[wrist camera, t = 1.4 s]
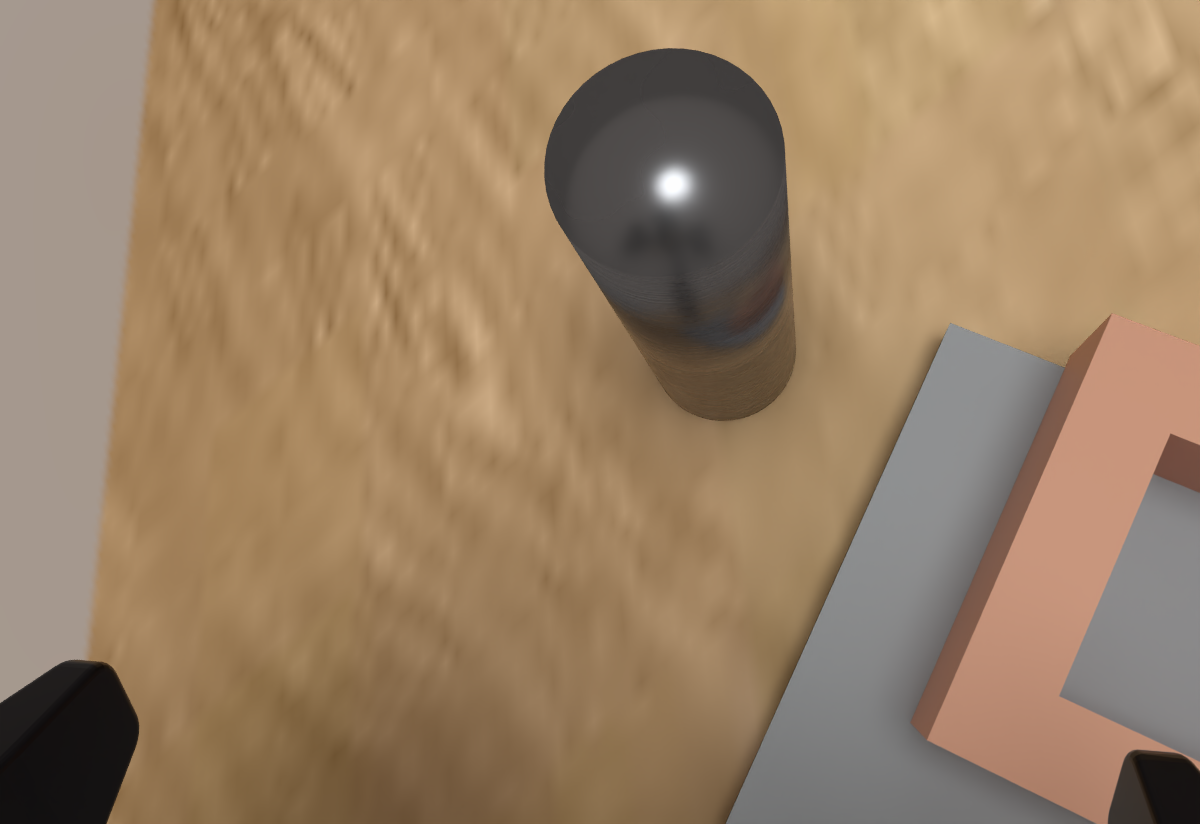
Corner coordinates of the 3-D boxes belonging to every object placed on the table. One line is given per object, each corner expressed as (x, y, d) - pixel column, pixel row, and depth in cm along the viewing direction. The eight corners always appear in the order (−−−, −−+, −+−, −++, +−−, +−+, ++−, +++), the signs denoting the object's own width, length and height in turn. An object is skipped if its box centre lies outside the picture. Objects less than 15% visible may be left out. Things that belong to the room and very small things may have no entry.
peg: (759, 443, 23) (721, 313, 13) (630, 386, 23) (504, 224, 14) (819, 314, 23) (825, 93, 13) (689, 262, 24) (606, 17, 14)
